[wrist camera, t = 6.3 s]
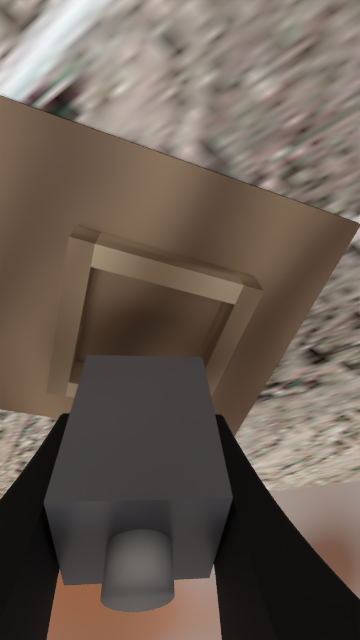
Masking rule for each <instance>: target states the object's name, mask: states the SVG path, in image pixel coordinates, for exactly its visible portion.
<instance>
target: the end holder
mask: <svg viewBox="0 0 360 640" xmlns="http://www.w3.org/2000/svg"><path fill="white" fill-rule="evenodd" d="M359 227H360V224H359V223H357V222H355V221H352V220H349V219H346V218H343V217H341V216H338V215H335V214H332V213H329V212H327V211H324V210H321V209H318V208H315V207H312V206H310V205H307V204H304V203H301V202H298V201H296V200H293V199H290V198H287V197H284V196H282V195H279V194H276V193H273V192H270V191H267V190H265V189H262V188H259V187H256V186H253V185H251V184H248V183H245V182H242V181H239V180H237V179H234V178H231V177H228V176H225V175H222V174H220V173H217V172H214V171H211V170H208V169H206V168H203V167H200V166H197V165H194V164H192V163H189V162H186V161H183V160H180V159H177V158H175V157H172V156H169V155H166V154H163V153H161V152H158V151H155V150H152V149H149V148H147V147H144V146H141V145H138V144H135V143H132V142H130V141H127V140H124V139H121V138H118V137H116V136H113V135H110V134H107V133H104V132H102V131H99V130H96V129H93V128H90V127H87V126H85V125H82V124H79V123H76V122H73V121H71V120H68V119H65V118H62V117H59V116H57V115H54V114H51V113H48V112H45V111H42V110H40V109H37V108H34V107H31V106H28V105H26V104H23V103H20V102H17V101H14V100H12V99H9V98H6V97H3V96H0V409H3V410H9V411H15V412H22V413H28V414H34V415H41V416H47V417H54V418H59V416H60V415H62V414H63V413H70V411H71V408H72V404H73V401H74V397H75V394H76V391H77V387H78V384H79V380H80V377H81V373H82V370H83V367H84V363H85V360H86V356H87V355H120V356H166V357H203V361H204V366H205V370H206V375H207V380H208V384H209V389H210V394H211V398H212V403H213V408H214V412H215V414H221V415H222V416H223V417H224V418H225V420H226V422H227V424H228V426H229V428H230V430H231V432H232V434H233V435H234V436H235V434H236V433H237V431H238V429H239V428H240V426H241V424H242V423H243V421H244V419H245V418H246V416H247V414H248V413H249V411H250V409H251V408H252V406H253V404H254V403H255V401H256V399H257V398H258V396H259V394H260V393H261V391H262V389H263V388H264V386H265V384H266V383H267V381H268V379H269V377H270V376H271V374H272V372H273V371H274V369H275V367H276V366H277V364H278V362H279V361H280V359H281V357H282V356H283V354H284V352H285V351H286V349H287V347H288V346H289V344H290V342H291V341H292V339H293V337H294V336H295V334H296V332H297V331H298V329H299V327H300V326H301V324H302V322H303V321H304V319H305V317H306V316H307V314H308V312H309V311H310V309H311V307H312V306H313V304H314V302H315V300H316V299H317V297H318V295H319V294H320V292H321V290H322V289H323V287H324V285H325V284H326V282H327V280H328V279H329V277H330V275H331V274H332V272H333V270H334V269H335V267H336V265H337V264H338V262H339V260H340V259H341V257H342V255H343V254H344V252H345V250H346V249H347V247H348V245H349V244H350V242H351V240H352V239H353V237H354V235H355V234H356V232H357V230H358V229H359Z"/></svg>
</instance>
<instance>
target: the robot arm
mask: <svg viewBox="0 0 360 640" xmlns="http://www.w3.org/2000/svg"><path fill="white" fill-rule="evenodd" d="M69 414H70V413H63V414H62V415H60V416H59V418H58V420H57V422H56V423H55V425H54V426H53V428H52V430H51V431H50V433H49V434H48V436H47V437H46V439H45V440H44V442H43V443H42V445H41V446H40V448H39V449H38V451H37V452H36V453H35V455H34V456H33V458H32V459H31V460H30V462H29V463H28V464H27V466H26V467H25V469H24V470H23V471H22V473H21V474H20V475H19V477H18V478H17V479H16V481H15V482H14V483H13V484H12V486H11V487H10V488H9V489H8V491H7V492H6V493H5V494H4V496H3V497H2V498H1V499H0V640H46V639H47V633H48V627H49V622H50V616H51V610H52V604H53V599H54V594H55V588H56V583H57V578H58V573H59V569H60V567H59V563H58V559H57V555H56V551H55V547H54V543H53V539H52V534H51V530H50V526H49V522H48V518H47V514H46V510H45V506H44V500H45V496H46V493H47V490H48V486H49V483H50V479H51V476H52V472H53V469H54V466H55V462H56V459H57V455H58V452H59V449H60V445H61V442H62V438H63V435H64V432H65V428H66V425H67V421H68V418H69ZM215 417H216V422H217V426H218V431H219V436H220V440H221V445H222V450H223V454H224V459H225V464H226V468H227V473H228V478H229V482H230V487H231V492H232V496H233V499H232V503H231V506H230V509H229V513H228V516H227V519H226V523H225V526H224V530H223V533H222V536H221V540H220V543H219V547H218V550H217V553H216V557H215V560H214V568H215V575H216V585H217V594H218V604H219V613H220V624H221V635H222V640H360V599H359V598H358V597H357V596H356V595H355V594H354V593H353V592H352V591H351V590H350V589H349V588H348V587H347V586H346V584H345V583H344V582H343V581H342V580H341V579H340V578H339V577H338V576H337V575H336V574H335V572H334V571H333V570H332V569H331V568H330V567H329V566H328V565H327V564H326V563H325V562H324V561H323V559H322V558H321V557H320V556H319V555H318V554H317V553H316V552H315V551H314V549H313V548H312V547H311V546H310V544H309V543H308V542H307V541H306V540H305V538H304V537H303V536H302V535H301V534H300V532H299V531H298V530H297V529H296V527H295V526H294V525H293V524H292V522H291V521H290V520H289V519H288V517H287V516H286V515H285V513H284V512H283V511H282V509H281V508H280V507H279V505H278V504H277V503H276V501H275V500H274V498H273V497H272V496H271V494H270V493H269V491H268V490H267V489H266V487H265V486H264V484H263V483H262V481H261V480H260V478H259V477H258V475H257V474H256V472H255V470H254V469H253V467H252V466H251V464H250V463H249V461H248V459H247V458H246V456H245V454H244V453H243V451H242V449H241V448H240V446H239V444H238V443H237V441H236V439H235V437H234V435H233V434H232V432H231V430H230V428H229V426H228V424H227V422H226V420H225V418H224V417H223V416H222V415H221V414H215Z"/></svg>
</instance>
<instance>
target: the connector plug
mask: <svg viewBox="0 0 360 640" xmlns="http://www.w3.org/2000/svg"><path fill="white" fill-rule="evenodd" d="M232 499H233V496H232V492H231V487H230V482H229V478H228V473H227V468H226V464H225V459H224V454H223V450H222V445H221V440H220V436H219V431H218V426H217V422H216V417H215V412H214V408H213V403H212V398H211V394H210V389H209V384H208V380H207V375H206V370H205V366H204V361H203V357H166V356H120V355H87V356H86V360H85V363H84V367H83V370H82V373H81V377H80V380H79V384H78V387H77V391H76V394H75V397H74V401H73V404H72V408H71V411H70V414H69V418H68V421H67V425H66V428H65V432H64V435H63V438H62V442H61V445H60V449H59V452H58V455H57V459H56V462H55V466H54V469H53V472H52V476H51V479H50V483H49V486H48V490H47V493H46V496H45V500H44V506H45V510H46V514H47V518H48V522H49V526H50V530H51V534H52V539H53V543H54V547H55V551H56V555H57V559H58V563H59V567H60V571H61V574H62V579H63V583H64V585H81V584H99V583H102V590H101V602H102V604H103V605H104V606H106V607H108V608H110V609H113V610H117V611H123V612H141V611H148V610H153V609H156V608H159V607H162V606H164V605H166V604H168V603H169V602H171V600H173V598H174V580H178V579H197V578H209V577H210V574H211V570H212V567H213V564H214V560H215V557H216V553H217V550H218V547H219V543H220V540H221V536H222V533H223V530H224V526H225V523H226V519H227V516H228V513H229V509H230V506H231V503H232Z"/></svg>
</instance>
